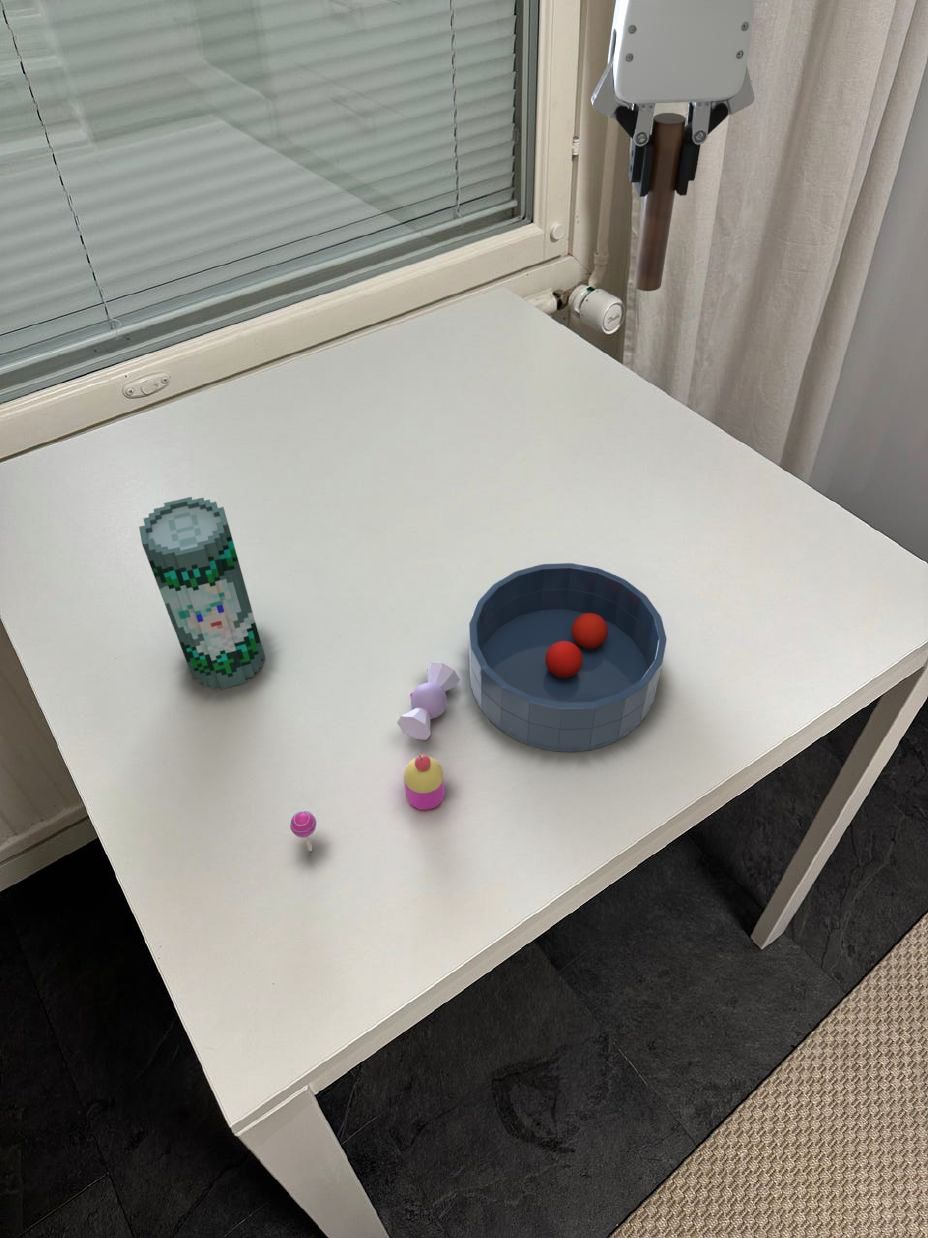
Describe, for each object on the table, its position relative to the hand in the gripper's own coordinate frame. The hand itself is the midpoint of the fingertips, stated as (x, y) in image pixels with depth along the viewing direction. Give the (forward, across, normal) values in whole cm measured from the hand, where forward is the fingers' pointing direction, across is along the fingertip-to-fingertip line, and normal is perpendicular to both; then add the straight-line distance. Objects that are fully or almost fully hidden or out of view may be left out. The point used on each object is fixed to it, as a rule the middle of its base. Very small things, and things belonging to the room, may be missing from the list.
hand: (659, 187), depth 76 cm
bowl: (+26, +10, +31) cm, 42 cm away
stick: (+9, 0, 0) cm, 9 cm away
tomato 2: (+24, +7, +28) cm, 38 cm away
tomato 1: (+24, +10, +31) cm, 41 cm away
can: (+26, +38, +28) cm, 54 cm away
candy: (+27, +23, +40) cm, 54 cm away
